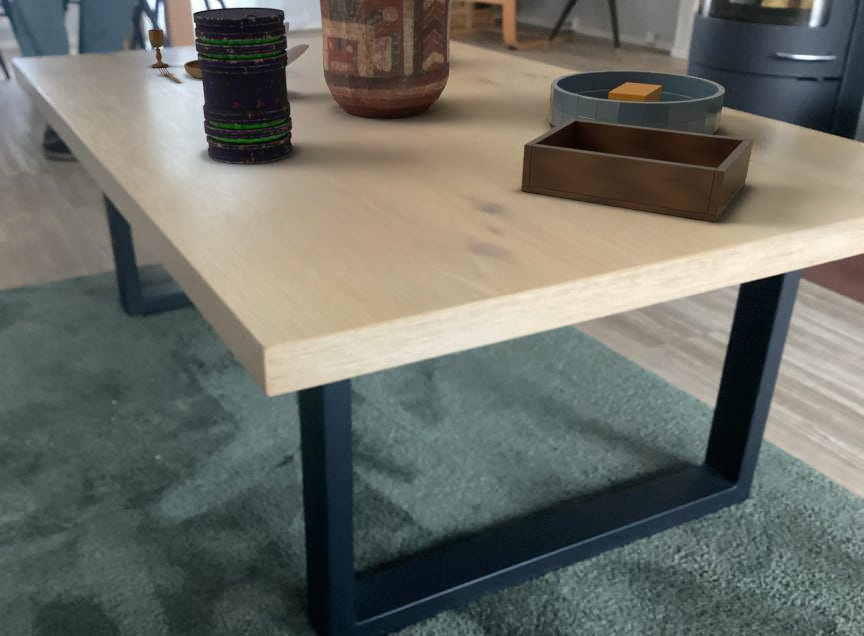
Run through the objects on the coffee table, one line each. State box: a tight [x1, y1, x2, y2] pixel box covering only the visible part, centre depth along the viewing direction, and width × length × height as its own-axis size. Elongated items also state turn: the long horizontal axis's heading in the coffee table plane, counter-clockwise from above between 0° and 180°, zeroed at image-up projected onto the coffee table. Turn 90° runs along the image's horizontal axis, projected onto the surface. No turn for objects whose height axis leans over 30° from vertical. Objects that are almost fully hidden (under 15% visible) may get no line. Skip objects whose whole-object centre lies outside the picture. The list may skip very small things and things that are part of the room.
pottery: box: [319, 0, 453, 119], centre depth 114 cm, size 18×18×18 cm
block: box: [608, 82, 662, 102], centre depth 107 cm, size 4×7×4 cm, turn 149°
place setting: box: [148, 28, 202, 83], centre depth 144 cm, size 18×20×6 cm
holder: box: [520, 118, 754, 223], centre depth 84 cm, size 19×13×5 cm
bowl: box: [547, 69, 726, 135], centre depth 107 cm, size 20×20×5 cm
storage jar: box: [192, 6, 294, 165], centre depth 95 cm, size 10×10×15 cm
